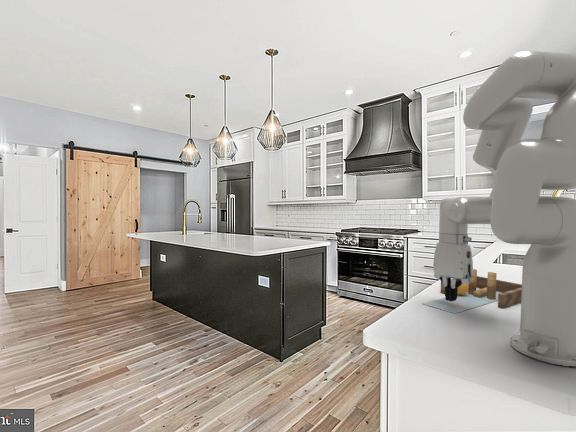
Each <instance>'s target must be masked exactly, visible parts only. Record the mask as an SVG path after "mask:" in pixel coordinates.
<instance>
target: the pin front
mask: <svg viewBox="0 0 576 432" xmlns="http://www.w3.org/2000/svg"><path fill="white" fill-rule="evenodd" d="M478 289H479V290H478ZM478 289H476V291H474V292H473V296H474V297H478V298H480V297H483V296H486V295H487V287H486V288H483V289H481V288H478Z"/></svg>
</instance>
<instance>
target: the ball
mask: <svg viewBox="0 0 576 432" xmlns="http://www.w3.org/2000/svg"><path fill="white" fill-rule="evenodd" d="M451 280H452V278H451ZM462 280H463V279H462ZM468 289H469V285H468V284H462V285H461V286H460V287H458V293H457V295H464V294H466V293H467V292H468Z"/></svg>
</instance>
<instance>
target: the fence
mask: <svg viewBox="0 0 576 432" xmlns="http://www.w3.org/2000/svg"><path fill="white" fill-rule="evenodd" d="M487 279H488V277H484V276H480V275H479V276H478V275H477V286H476V289H483V288H486V287H487ZM496 291H497V292H502V293H500V294H498V301H497V308H501V309H506V308H510V307H512V306H516V305H518V304H521V295H522V283H515V282H510V281H505V280H499V279H496ZM440 293H441V294H444V295H445V287H444V286H443V283H442V282H441V281H440Z"/></svg>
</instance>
